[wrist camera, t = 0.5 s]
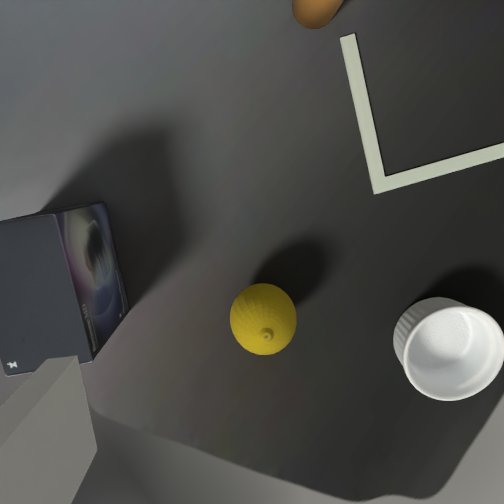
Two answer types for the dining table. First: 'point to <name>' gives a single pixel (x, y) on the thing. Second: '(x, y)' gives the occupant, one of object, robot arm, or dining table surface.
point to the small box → (58, 286)
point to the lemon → (263, 319)
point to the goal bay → (370, 139)
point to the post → (315, 12)
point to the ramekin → (448, 348)
